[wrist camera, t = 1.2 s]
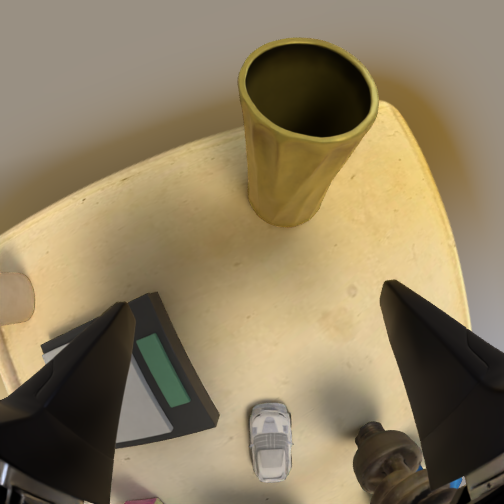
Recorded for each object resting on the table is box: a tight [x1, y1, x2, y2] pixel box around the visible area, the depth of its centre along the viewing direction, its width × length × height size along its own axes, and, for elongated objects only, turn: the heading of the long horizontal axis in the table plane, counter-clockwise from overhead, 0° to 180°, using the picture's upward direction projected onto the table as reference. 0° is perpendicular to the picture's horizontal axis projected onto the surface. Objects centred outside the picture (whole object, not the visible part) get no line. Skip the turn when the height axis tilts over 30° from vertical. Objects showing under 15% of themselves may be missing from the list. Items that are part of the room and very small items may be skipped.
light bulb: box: [353, 421, 457, 504], centre depth 13 cm, size 6×6×15 cm
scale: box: [41, 292, 220, 449], centre depth 21 cm, size 12×14×3 cm
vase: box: [238, 38, 379, 227], centre depth 16 cm, size 6×6×14 cm
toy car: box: [249, 403, 294, 483], centre depth 20 cm, size 4×8×3 cm, turn 4°
